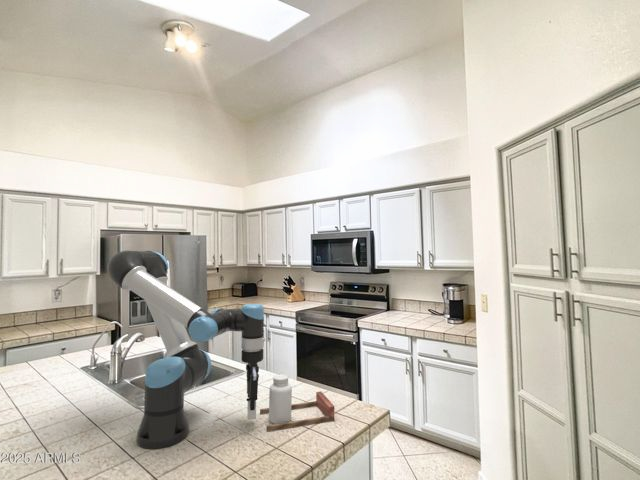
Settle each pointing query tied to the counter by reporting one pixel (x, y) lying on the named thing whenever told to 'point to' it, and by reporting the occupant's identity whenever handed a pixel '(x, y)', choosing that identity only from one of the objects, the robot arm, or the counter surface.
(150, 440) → the robot arm
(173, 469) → the counter surface
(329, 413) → the guide channel
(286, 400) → the pill bottle
